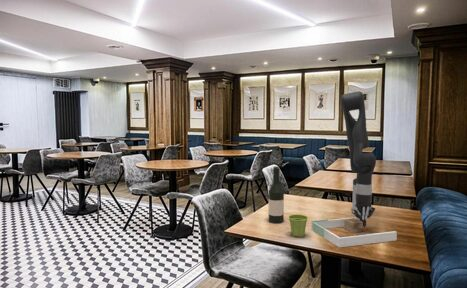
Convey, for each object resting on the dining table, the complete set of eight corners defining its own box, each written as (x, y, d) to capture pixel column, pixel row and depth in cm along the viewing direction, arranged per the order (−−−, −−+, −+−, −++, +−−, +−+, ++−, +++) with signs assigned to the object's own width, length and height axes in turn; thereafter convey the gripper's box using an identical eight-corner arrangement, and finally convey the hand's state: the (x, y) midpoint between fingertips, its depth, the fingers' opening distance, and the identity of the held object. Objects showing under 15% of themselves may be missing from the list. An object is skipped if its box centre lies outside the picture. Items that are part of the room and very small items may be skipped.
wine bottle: (284, 219, 176) (285, 166, 174) (282, 224, 168) (282, 168, 166) (270, 218, 178) (270, 165, 176) (266, 222, 171) (267, 167, 168)
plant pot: (296, 239, 146) (296, 221, 146) (284, 233, 155) (284, 216, 154) (312, 236, 151) (312, 218, 150) (299, 230, 159) (299, 213, 158)
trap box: (361, 224, 168) (362, 215, 168) (396, 240, 145) (396, 230, 145) (311, 229, 160) (311, 220, 160) (339, 247, 137) (339, 237, 137)
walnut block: (354, 227, 162) (354, 218, 162) (362, 231, 156) (362, 221, 156) (344, 229, 160) (344, 219, 160) (352, 233, 155) (352, 223, 154)
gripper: (369, 190, 164) (368, 222, 165) (347, 191, 160) (346, 225, 161) (380, 193, 157) (379, 227, 158) (357, 195, 153) (356, 230, 154)
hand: (362, 226), depth 160 cm, fingers closed
